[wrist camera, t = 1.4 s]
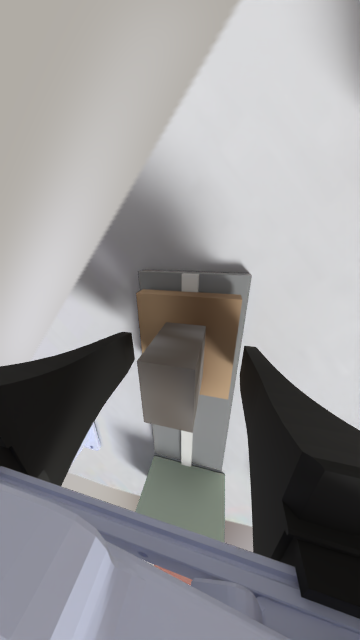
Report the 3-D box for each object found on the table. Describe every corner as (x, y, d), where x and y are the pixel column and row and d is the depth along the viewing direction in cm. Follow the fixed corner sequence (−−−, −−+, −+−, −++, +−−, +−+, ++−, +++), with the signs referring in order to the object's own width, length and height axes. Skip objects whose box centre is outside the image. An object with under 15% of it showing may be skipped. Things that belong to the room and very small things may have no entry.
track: (157, 445, 20) (153, 457, 19) (143, 270, 12) (135, 272, 11) (221, 461, 18) (221, 475, 17) (250, 273, 11) (252, 276, 10)
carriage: (150, 375, 14) (116, 436, 10) (143, 289, 12) (90, 318, 7) (227, 388, 13) (229, 465, 9) (241, 294, 10) (252, 335, 6)
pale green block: (156, 484, 23) (140, 541, 19) (154, 455, 21) (134, 513, 16) (219, 503, 22) (218, 571, 17) (224, 474, 19) (224, 544, 15)
